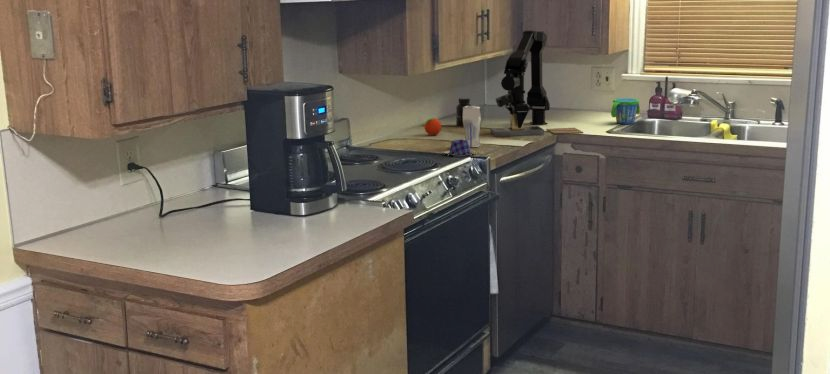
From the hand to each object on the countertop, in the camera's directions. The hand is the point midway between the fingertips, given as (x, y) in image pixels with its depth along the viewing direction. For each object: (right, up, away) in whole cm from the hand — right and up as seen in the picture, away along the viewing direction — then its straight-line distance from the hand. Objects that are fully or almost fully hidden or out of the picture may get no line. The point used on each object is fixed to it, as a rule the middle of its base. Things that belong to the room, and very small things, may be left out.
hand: (516, 126), depth 370 cm
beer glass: (-20, -10, -26) cm, 34 cm away
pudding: (-25, -13, -41) cm, 49 cm away
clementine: (-34, -4, +2) cm, 35 cm away
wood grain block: (0, -3, +1) cm, 3 cm away
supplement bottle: (-20, +2, +24) cm, 31 cm away
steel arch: (0, -3, +1) cm, 3 cm away
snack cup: (+49, +2, +21) cm, 53 cm away
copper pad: (+20, -2, +3) cm, 20 cm away
